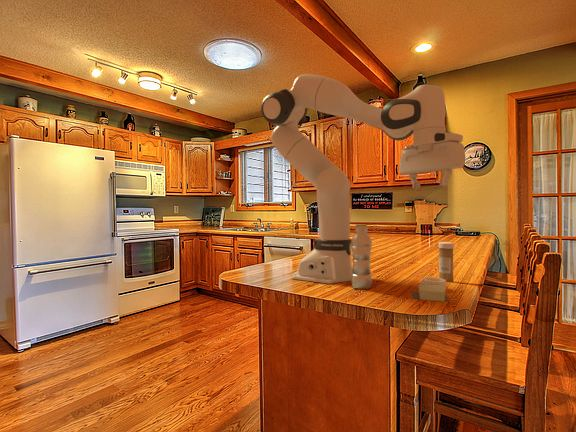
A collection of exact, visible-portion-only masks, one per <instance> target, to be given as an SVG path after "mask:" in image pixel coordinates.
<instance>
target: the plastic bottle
mask: <svg viewBox="0 0 576 432" xmlns="http://www.w3.org/2000/svg"><path fill="white" fill-rule="evenodd" d="M368 231H369V230H368V224H355V234H354V235H353V236H352V239H351V245H352V250H351V254H352V270H353V271H352V277H351V281H350V282H351V286H352V288H355V289H357V290H358V289H359V290H367V289H370V288H371V287H372V284H373V276H372V273H371V272H372V271H371V253H372V245H373V244H372V243H373V242H372V241H373V240H372V239H371V237H370V234H368Z"/></svg>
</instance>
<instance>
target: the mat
mask: <svg viewBox="0 0 576 432" xmlns="http://www.w3.org/2000/svg"><path fill="white" fill-rule="evenodd" d="M410 292H411V298H412V300H421V301H423V300H422V299H420V296H419V291H410ZM430 301H433V302H434V300H430ZM442 302H445V303H450V300H449V298H448V297H447V294H445V301H442Z"/></svg>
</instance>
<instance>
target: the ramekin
mask: <svg viewBox="0 0 576 432" xmlns="http://www.w3.org/2000/svg"><path fill="white" fill-rule="evenodd" d="M421 284H425V285H440V286H442V288H443V290H444V292H446V291H447V282H446V280H445V279H442V278H439V277H434V276H433V277H432V276H425V277H422V278H421Z"/></svg>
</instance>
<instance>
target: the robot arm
mask: <svg viewBox="0 0 576 432" xmlns="http://www.w3.org/2000/svg"><path fill="white" fill-rule="evenodd" d="M308 109H311V110H314V111H317V112H319V113H323V114H327V115H332V116H337V117H342V118H345V119H351V120H354V121H357V122H359V123H362V124H365V125H369V126H370V127H374V128H377V129H378V130H381V131H382V132H383V133H384V134H385V135H386V136H388V138H390V139H391V140H393V141H403V140H407V139H408V138H410V137H411V136H412V135H413V136H412V137H413V139H412V140H413V141H412V142H413V143H412V144H411V145H406V146H405V147H403V149H402V150H401V153H400V154H401V156H400V160H399V173H400V175H402V176H409V180H410V181H411V183H412V189H420V188H421V182H418V179H417V178H419V177H418V175H419V174H425V173H427V174H428V173H434V172H442V174H443V177H442V179H439V184H438V185H439V186H440V187H448V185H449V179H450V178H451V176H452V173H453V170H457V169H463V167H464V166H465V164H466V151H465V145H464V144H463V141H464V136H463V135H462V134H460V133H455V132H449V131H447V130H446V129H447V128H446V124H445V117H446V114H447V113H446V109H447V108H446V97H445V93H444V90H443V88H442V87H440V86H439V85H436V84H434V83H433V84H431V83H424V84H420V85H418V86H416V87H415V88H414V89H412V91H411V92H409V93H407V94H406V95H403V96H401V97H398V98H396V99H392V100H390V101H388V102H387V103H386V104H385V105H384V106H383V108H381V107H378V106H375V105H372V104H369V103H367V102H365V101H363V100H361V99H360V98H359V97H358V96H357V95H356V94H355V93H354V92H353V91H352V90H351V89H350V88H349V86H347V85H346V84H345V83H343V82H341V81H339V80H338V79H335V78H332V77H329V76H324V75H319V74H312V73H311V74H310V73H302V74H300V75H298V76H297V77H296V78H295V79H294V81H293V84H292V86H291V89H286V88H284V89H280V90H277V91H274V92H272V93H269V94H267V95H266V96H265V97H264V98H263V99H262V102H261V106H260V111H261V115H262V117H263V118H264V120H266V121H267V122H268V123H270V124H272V125H275V127H274V129H273V130H272V132H271V136H270V140H271V143H272V145H273V146H274V148H275V149H276V151H277V152H278V153H279V154H280V155H281V156H282V158H283V159H285V161H286V162H288V163H289V164H290V165H291V167H292V168H293V169H295V170H296V172H298V173H299V174H300V175H301V176H302V177H303V178H305V180H306V181H308V182H309V183H310V185H312V186H313V187H314V188H315V189H316V202H317V210H318V211H317V212H318V238H316V239H315V240H314V241H313V243H312V245H313V249H312V250H310V251H309V252H308V253H307V254H306V255H305V256H303V257H302V258H301V259H300V260H299V263H298V268H297V271H295V272H293V273H292V275H291V279H293V280H297V281H307V282H313V283H314V282H315V283H323V284H328V285H329V284H330V285H331V284H336V283H343V282H351V277H352V271H353V263H352V259H351V258H352V257H351V254H352V245H351V241H352V239H351V221H350V220H351V214H350V213H351V211H350V190H351V181H350V179H349V178H348V175H347V174H346V173H345V172H344V171H343V170H341V169H340V168H339V167H338V166H337V165H335V163H333V161H331V160H330V158H328V156H326V155H325V154H324V153H323V151H321V150H320V149H319V147H317V146H316V145H315V144H314V143H313V142H312V141H310V139H308V138H307V137H306V136H305V135H304V134H303V133H302V132H301V131H300V129H299V128H301V127H302V126H303V125H302V124H303V122H304V120H305V118H306V116H307V114H308Z"/></svg>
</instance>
